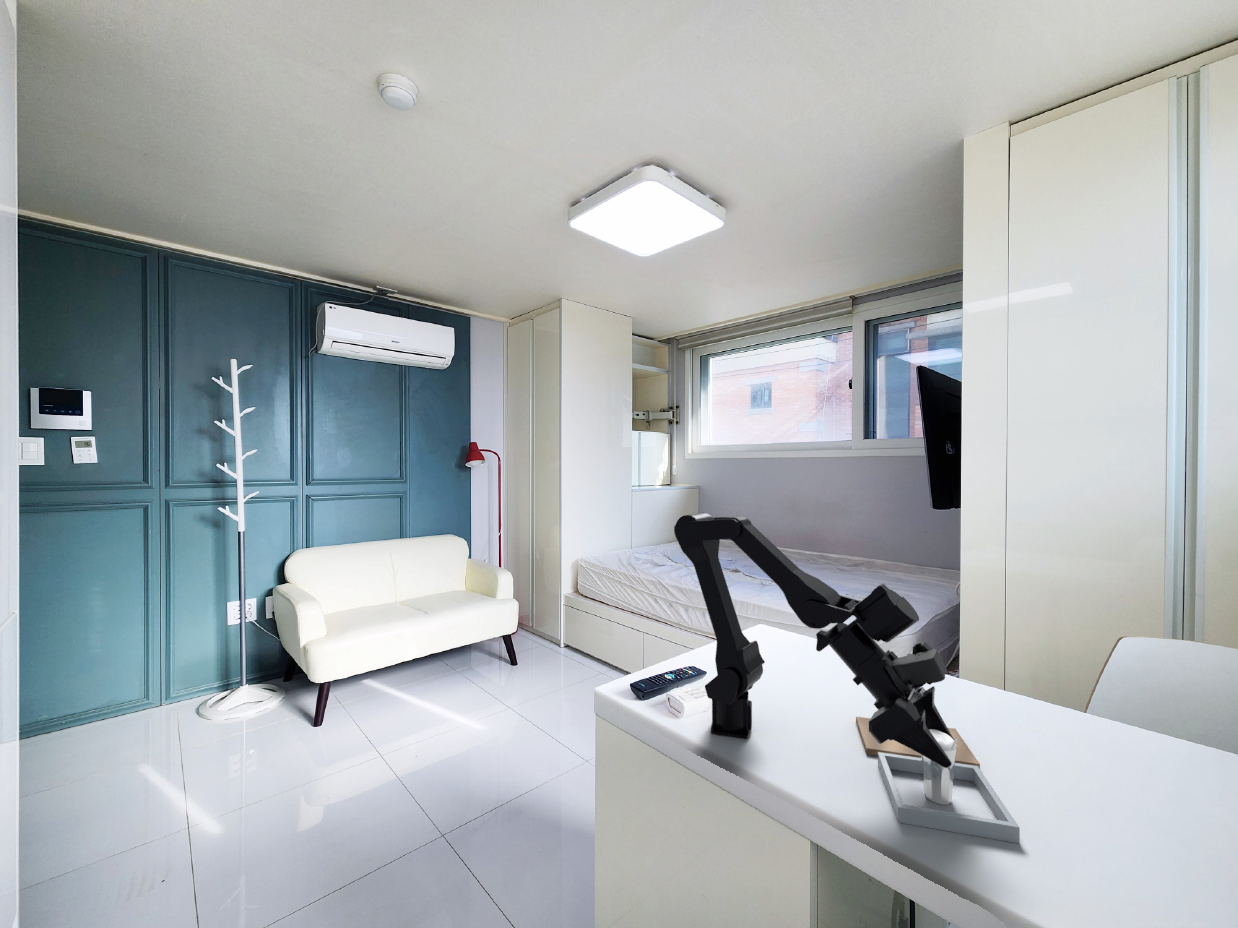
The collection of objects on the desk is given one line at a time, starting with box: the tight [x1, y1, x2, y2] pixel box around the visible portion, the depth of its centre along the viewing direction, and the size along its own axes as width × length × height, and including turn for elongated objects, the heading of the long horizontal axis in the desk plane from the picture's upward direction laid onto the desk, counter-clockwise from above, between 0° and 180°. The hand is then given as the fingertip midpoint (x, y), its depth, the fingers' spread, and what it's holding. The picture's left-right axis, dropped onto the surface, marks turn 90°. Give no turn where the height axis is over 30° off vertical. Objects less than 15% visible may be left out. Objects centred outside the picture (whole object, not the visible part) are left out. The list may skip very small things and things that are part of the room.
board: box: [855, 716, 981, 770], centre depth 87 cm, size 16×11×1 cm
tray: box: [877, 752, 1020, 844], centre depth 72 cm, size 14×14×2 cm
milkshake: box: [921, 729, 958, 806], centre depth 72 cm, size 4×5×10 cm
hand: (951, 756), depth 71 cm, fingers open, 6 cm apart
